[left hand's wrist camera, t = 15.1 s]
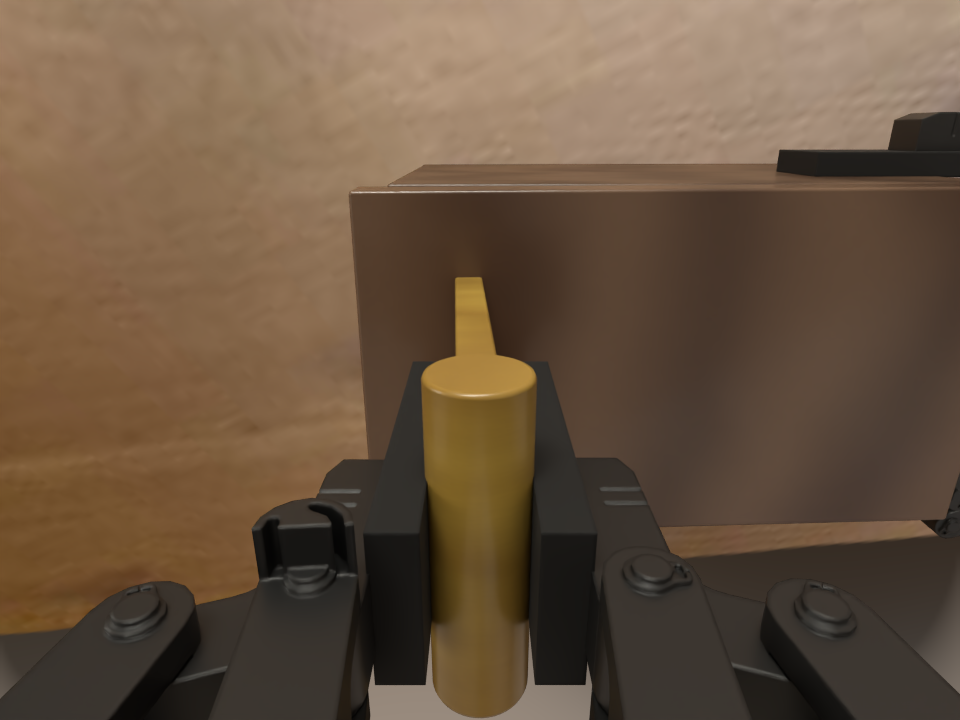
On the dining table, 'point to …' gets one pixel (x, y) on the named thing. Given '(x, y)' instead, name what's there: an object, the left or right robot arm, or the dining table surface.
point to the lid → (655, 367)
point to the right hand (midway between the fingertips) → (769, 317)
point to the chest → (630, 175)
